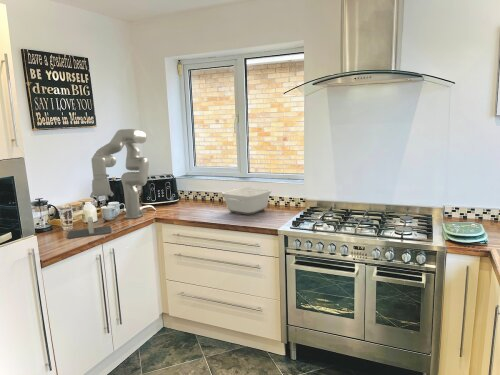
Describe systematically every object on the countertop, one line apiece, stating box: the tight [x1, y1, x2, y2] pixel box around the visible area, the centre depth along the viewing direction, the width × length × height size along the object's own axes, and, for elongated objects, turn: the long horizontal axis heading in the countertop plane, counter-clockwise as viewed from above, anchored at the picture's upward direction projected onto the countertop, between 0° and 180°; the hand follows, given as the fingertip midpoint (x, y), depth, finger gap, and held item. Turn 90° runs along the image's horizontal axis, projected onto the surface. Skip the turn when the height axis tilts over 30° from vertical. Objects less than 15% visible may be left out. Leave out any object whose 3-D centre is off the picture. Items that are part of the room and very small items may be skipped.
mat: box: [66, 225, 112, 240], centre depth 228 cm, size 24×16×1 cm, turn 112°
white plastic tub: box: [221, 186, 272, 216], centre depth 265 cm, size 34×29×15 cm
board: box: [87, 216, 95, 234], centre depth 227 cm, size 10×2×8 cm, turn 22°
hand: (103, 206), depth 229 cm, fingers open, 3 cm apart
